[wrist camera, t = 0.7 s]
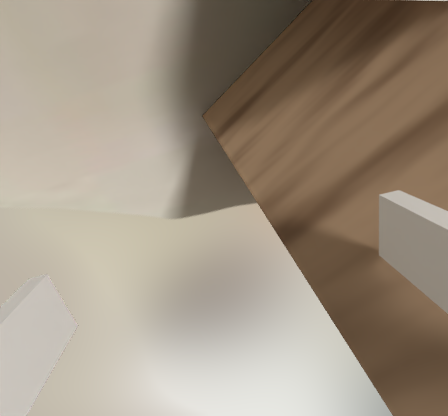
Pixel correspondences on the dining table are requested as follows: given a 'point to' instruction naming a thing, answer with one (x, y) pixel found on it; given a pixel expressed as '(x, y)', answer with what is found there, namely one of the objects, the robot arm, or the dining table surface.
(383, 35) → the walnut stand
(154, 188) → the dining table surface
